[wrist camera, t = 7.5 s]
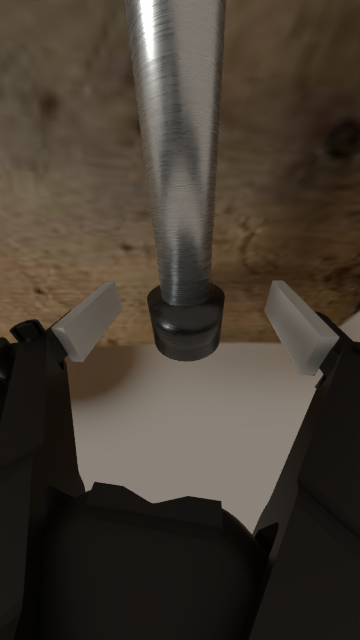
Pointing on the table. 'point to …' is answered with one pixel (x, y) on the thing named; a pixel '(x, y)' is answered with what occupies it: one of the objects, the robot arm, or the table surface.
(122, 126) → the table surface
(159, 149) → the shaft
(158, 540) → the robot arm
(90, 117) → the table surface
